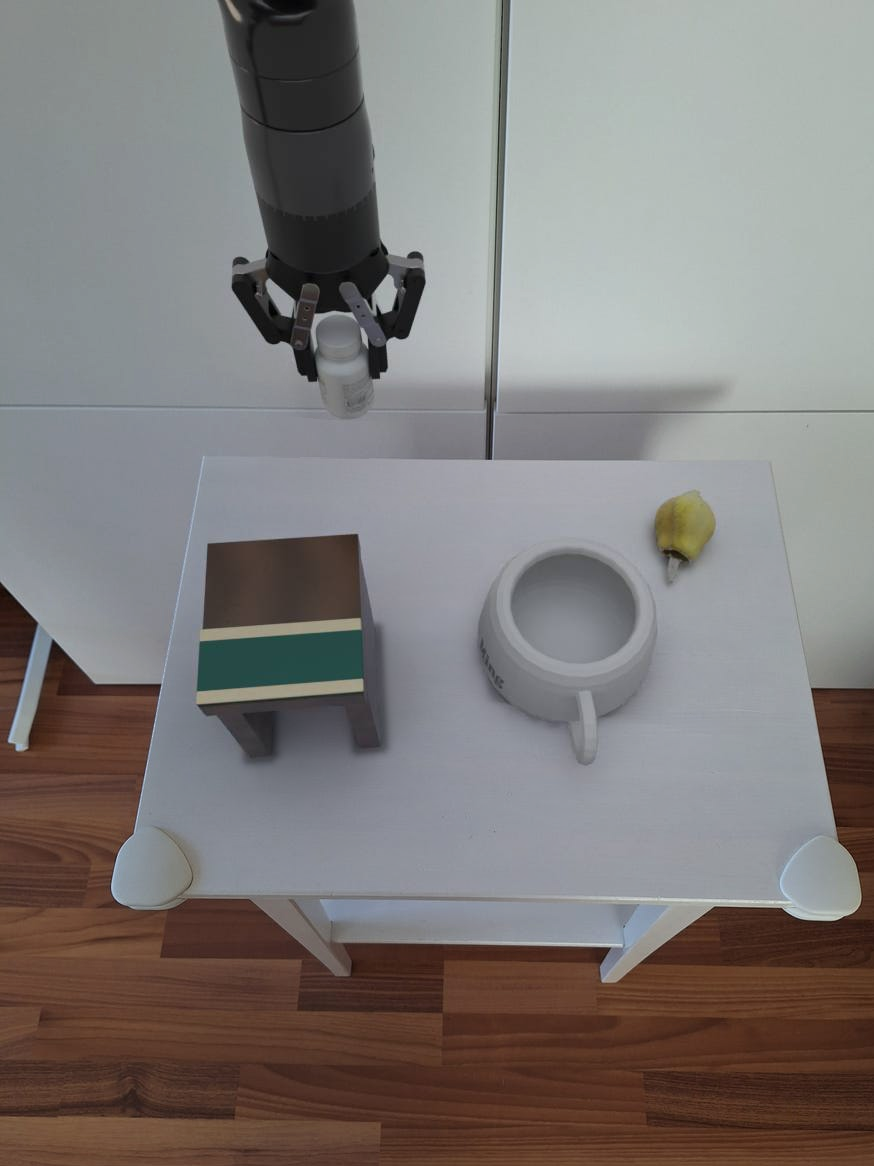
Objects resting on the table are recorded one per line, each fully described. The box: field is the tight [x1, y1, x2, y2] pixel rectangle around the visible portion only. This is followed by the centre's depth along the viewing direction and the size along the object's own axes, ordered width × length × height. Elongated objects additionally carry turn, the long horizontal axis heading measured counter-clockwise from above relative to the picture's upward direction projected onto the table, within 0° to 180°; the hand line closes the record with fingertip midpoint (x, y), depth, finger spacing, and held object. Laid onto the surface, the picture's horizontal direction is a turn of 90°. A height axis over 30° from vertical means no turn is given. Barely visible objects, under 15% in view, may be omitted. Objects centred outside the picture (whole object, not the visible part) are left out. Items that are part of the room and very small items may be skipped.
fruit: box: [654, 489, 717, 584], centre depth 81 cm, size 6×6×10 cm
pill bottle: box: [314, 314, 375, 420], centre depth 64 cm, size 4×4×8 cm
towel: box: [195, 618, 364, 708], centre depth 59 cm, size 12×6×1 cm, turn 96°
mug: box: [476, 536, 658, 767], centre depth 72 cm, size 21×17×10 cm
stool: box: [198, 533, 382, 758], centre depth 68 cm, size 12×14×16 cm
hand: (344, 372), depth 64 cm, fingers closed on pill bottle, 4 cm apart
